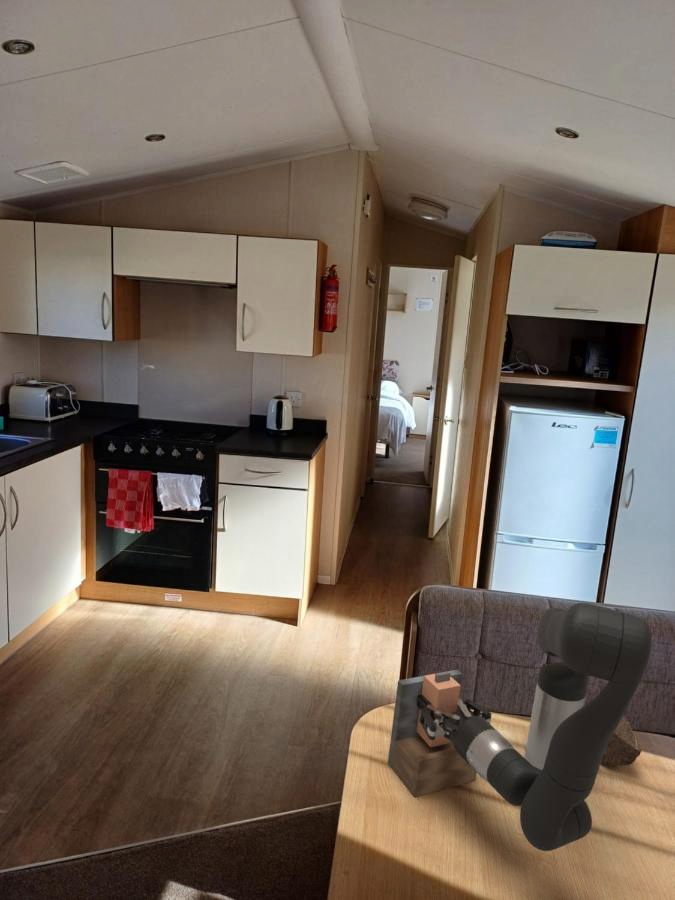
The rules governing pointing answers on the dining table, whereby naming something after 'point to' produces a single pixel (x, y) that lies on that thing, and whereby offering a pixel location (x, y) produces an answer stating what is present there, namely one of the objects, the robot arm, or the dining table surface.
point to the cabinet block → (439, 700)
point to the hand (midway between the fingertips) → (431, 696)
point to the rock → (622, 746)
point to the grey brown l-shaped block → (422, 747)
